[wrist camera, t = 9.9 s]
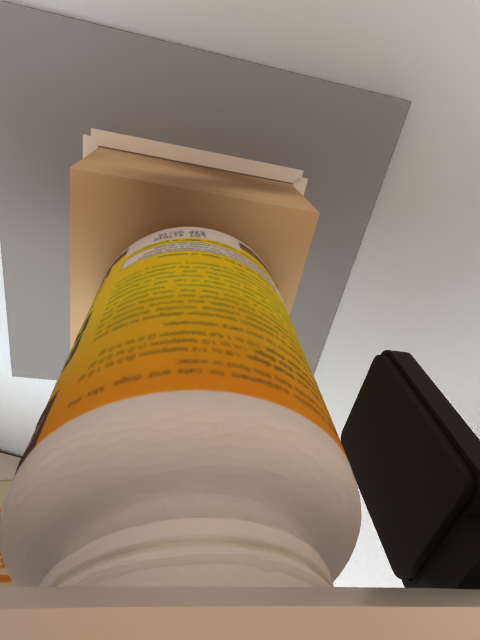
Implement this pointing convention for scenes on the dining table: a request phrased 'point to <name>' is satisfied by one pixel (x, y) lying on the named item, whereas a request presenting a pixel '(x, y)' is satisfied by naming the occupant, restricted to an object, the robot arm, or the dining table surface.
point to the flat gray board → (170, 156)
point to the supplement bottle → (183, 437)
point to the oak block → (178, 217)
